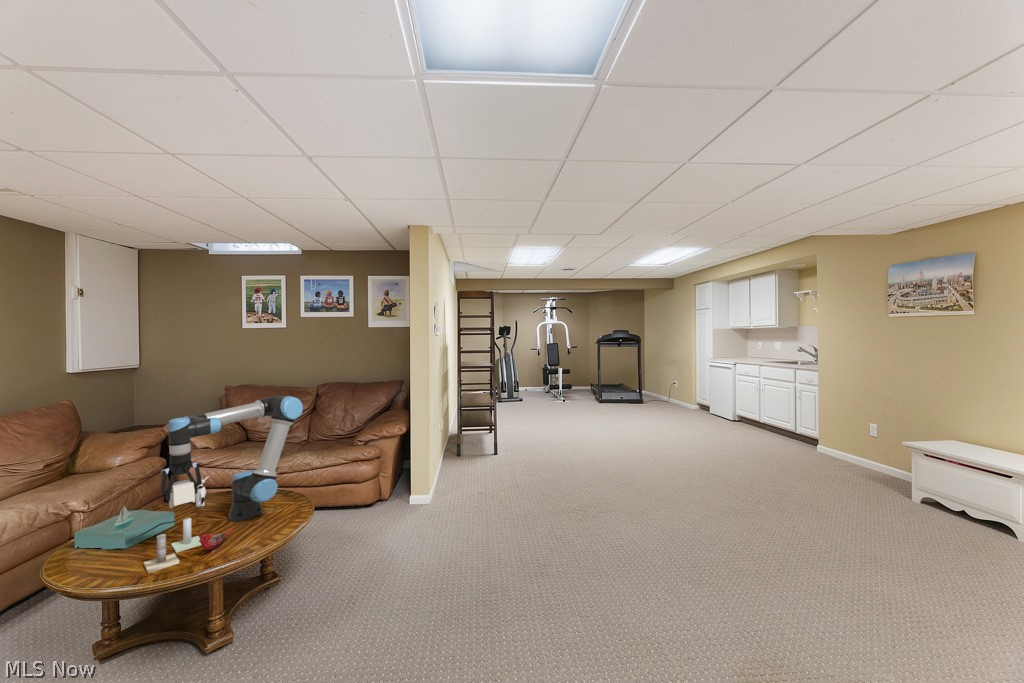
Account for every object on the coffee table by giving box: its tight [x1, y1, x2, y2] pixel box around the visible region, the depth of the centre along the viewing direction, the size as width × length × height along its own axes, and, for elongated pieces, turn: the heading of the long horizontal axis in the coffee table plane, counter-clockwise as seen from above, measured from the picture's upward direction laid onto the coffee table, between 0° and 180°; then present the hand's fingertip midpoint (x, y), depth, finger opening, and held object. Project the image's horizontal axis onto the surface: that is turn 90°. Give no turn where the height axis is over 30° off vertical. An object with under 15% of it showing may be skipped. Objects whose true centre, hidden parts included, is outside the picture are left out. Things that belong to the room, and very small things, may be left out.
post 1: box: [143, 533, 180, 574], centre depth 177 cm, size 10×10×12 cm
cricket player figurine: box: [195, 475, 210, 508], centre depth 239 cm, size 13×10×15 cm
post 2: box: [171, 517, 202, 554], centre depth 193 cm, size 10×10×12 cm
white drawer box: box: [171, 479, 194, 507], centre depth 189 cm, size 7×7×9 cm
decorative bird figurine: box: [199, 527, 235, 555], centre depth 188 cm, size 3×18×10 cm, turn 167°
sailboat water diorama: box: [74, 504, 175, 550], centre depth 203 cm, size 25×25×16 cm
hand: (182, 504), depth 189 cm, fingers closed on white drawer box, 7 cm apart
